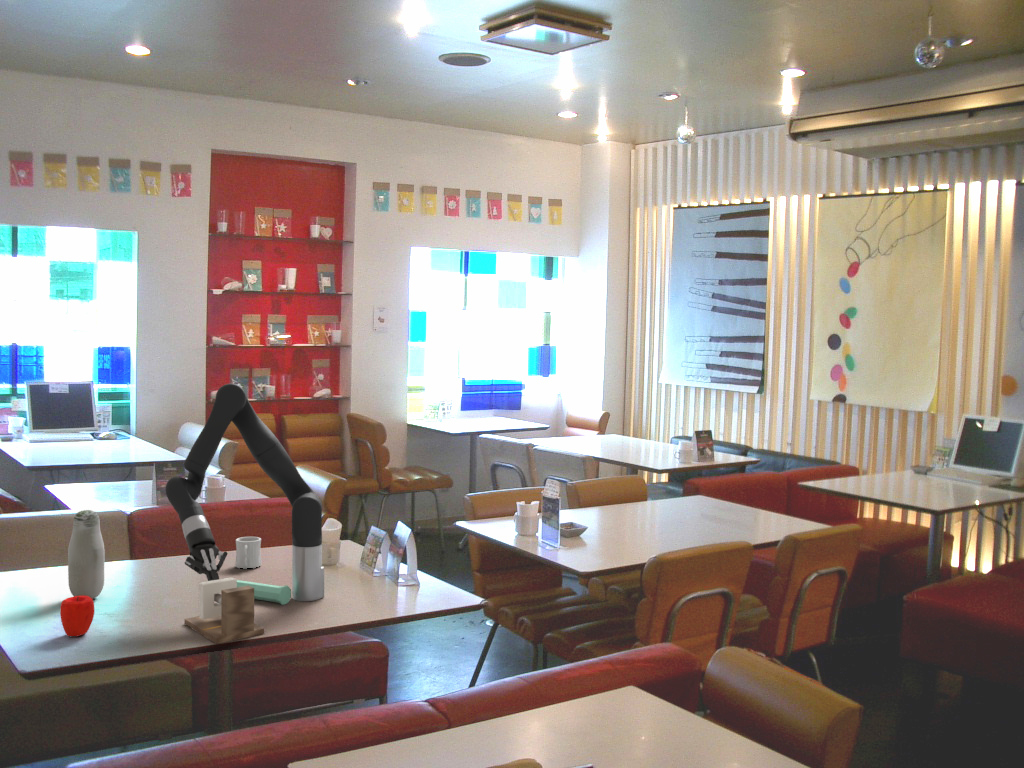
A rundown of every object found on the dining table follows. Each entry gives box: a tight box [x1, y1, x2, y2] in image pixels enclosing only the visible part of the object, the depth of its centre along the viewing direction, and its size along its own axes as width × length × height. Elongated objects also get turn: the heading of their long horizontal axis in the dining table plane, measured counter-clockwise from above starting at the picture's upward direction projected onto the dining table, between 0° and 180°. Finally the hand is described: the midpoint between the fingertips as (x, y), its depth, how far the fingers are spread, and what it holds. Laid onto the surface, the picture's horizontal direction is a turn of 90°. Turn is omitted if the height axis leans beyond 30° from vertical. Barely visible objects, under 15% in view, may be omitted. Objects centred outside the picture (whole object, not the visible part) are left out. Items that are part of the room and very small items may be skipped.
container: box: [237, 579, 292, 606], centre depth 306 cm, size 6×6×25 cm
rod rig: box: [184, 585, 265, 644], centre depth 274 cm, size 14×22×14 cm, turn 41°
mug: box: [234, 536, 262, 570], centre depth 344 cm, size 12×9×10 cm
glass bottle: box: [67, 509, 106, 600], centre depth 301 cm, size 10×10×28 cm
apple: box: [59, 596, 95, 637], centre depth 267 cm, size 9×9×11 cm
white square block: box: [198, 576, 238, 620], centre depth 277 cm, size 10×3×10 cm, turn 131°
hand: (215, 583), depth 279 cm, fingers closed
